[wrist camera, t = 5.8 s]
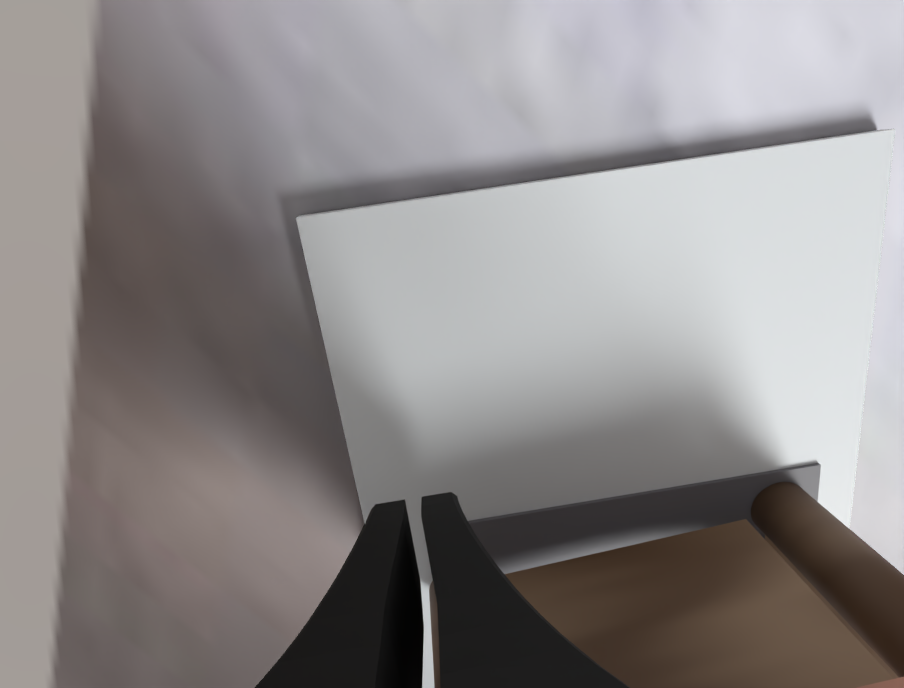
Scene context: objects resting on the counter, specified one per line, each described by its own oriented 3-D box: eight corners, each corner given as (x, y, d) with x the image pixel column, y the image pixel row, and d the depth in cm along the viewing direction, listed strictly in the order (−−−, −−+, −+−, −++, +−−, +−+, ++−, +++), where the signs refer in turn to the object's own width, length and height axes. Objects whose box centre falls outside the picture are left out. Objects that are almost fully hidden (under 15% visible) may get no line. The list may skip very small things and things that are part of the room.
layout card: (816, 720, 17) (828, 736, 17) (427, 790, 17) (427, 809, 17) (879, 129, 12) (899, 129, 11) (299, 215, 11) (295, 217, 11)
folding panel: (744, 502, 14) (939, 703, 9) (746, 543, 14) (933, 757, 9) (424, 575, 13) (436, 820, 9) (435, 614, 14) (452, 869, 9)
